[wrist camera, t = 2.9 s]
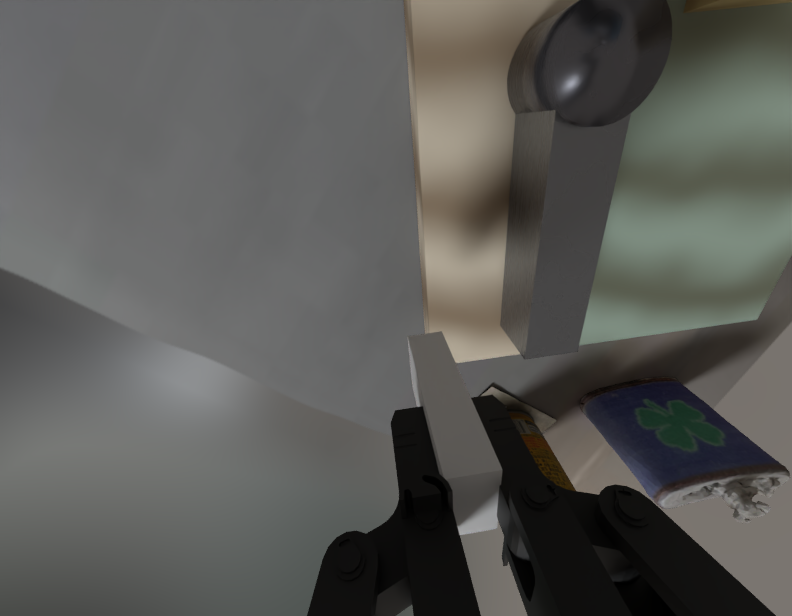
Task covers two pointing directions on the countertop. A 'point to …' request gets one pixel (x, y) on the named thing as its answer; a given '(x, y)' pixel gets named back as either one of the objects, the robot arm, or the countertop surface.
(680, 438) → the flask
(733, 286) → the two-tone base plate
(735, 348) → the countertop surface
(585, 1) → the latch bar
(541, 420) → the condiment
